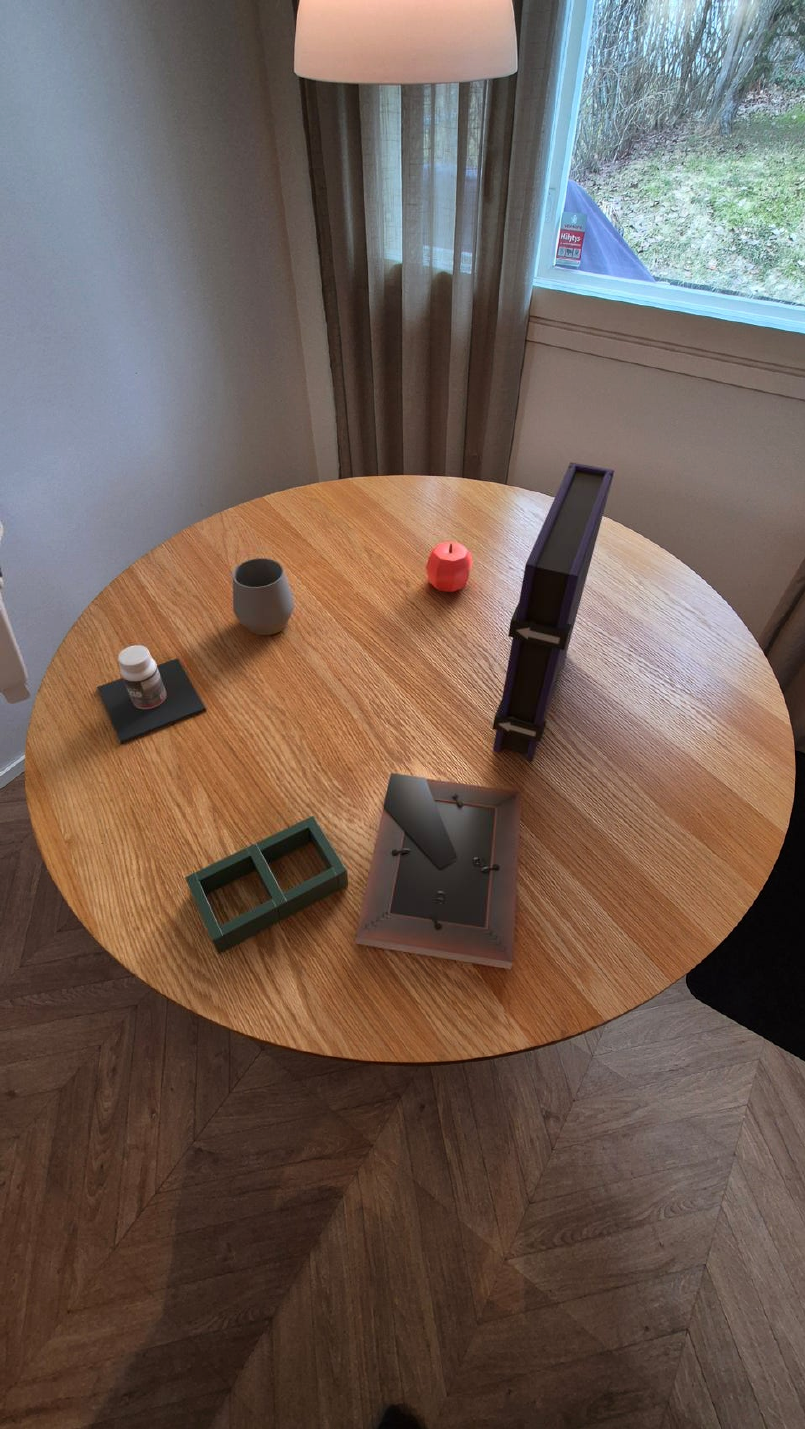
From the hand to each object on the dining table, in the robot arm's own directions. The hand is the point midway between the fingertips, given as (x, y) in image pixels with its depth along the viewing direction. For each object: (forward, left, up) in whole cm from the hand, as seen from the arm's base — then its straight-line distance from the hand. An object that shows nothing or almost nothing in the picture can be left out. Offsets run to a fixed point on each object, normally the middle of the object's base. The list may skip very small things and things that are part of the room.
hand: (9, 663), depth 58 cm
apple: (+63, +21, -29) cm, 72 cm away
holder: (+14, -16, -29) cm, 36 cm away
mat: (+11, +20, -29) cm, 37 cm away
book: (+58, -8, -29) cm, 65 cm away
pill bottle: (+11, +20, -28) cm, 36 cm away
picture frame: (+32, -24, -29) cm, 49 cm away
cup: (+32, +27, -29) cm, 51 cm away
